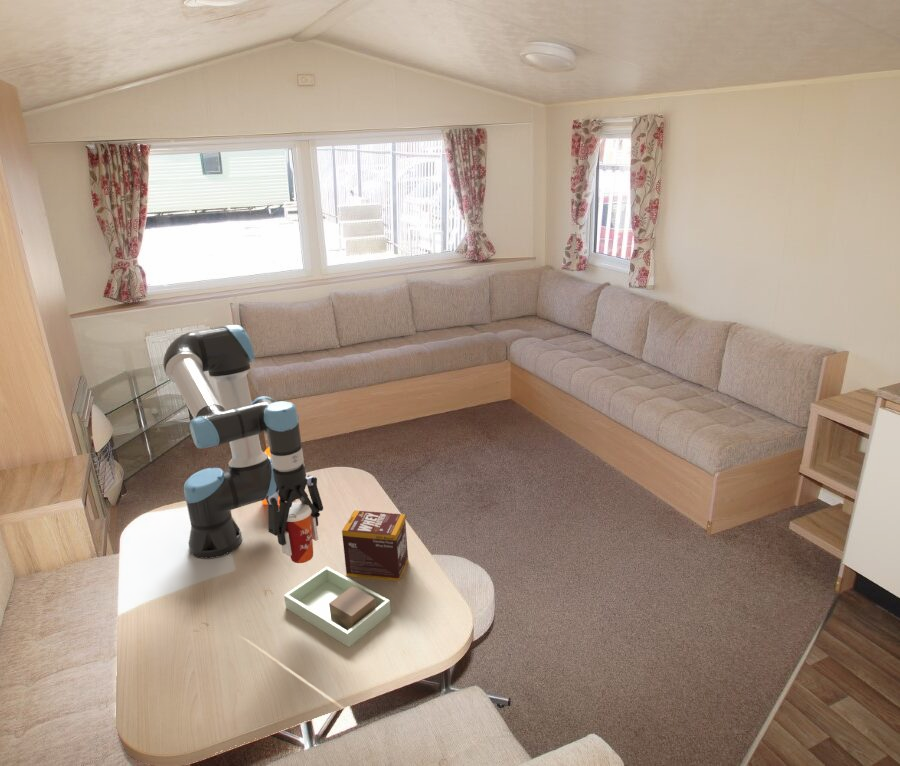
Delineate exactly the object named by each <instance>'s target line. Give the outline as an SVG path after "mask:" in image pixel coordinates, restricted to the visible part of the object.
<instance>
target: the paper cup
mask: <svg viewBox="0 0 900 766" xmlns="http://www.w3.org/2000/svg"><path fill="white" fill-rule="evenodd" d="M311 512H312V510H311V508H310V507H309V505H306V504H304V503H302V502H301V501H296V502H295V501H294V502H292V506H291V507H290V510H289V515H288V520H287V525H286V530H285V531H286V532H288V534H289V540H290V546H291V552H292V555H291V556H290V560H291V561H292V562H293V563H294V564H305V563H307V562H309V561H311V560H312V559H313V557H314V543H313V542H314V541H313V539H312V526H311Z"/></svg>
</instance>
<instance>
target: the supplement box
mask: <svg viewBox="0 0 900 766" xmlns="http://www.w3.org/2000/svg"><path fill="white" fill-rule="evenodd" d="M341 535H342V544H343V554H344V564H345V572H346V573H345V574H346V576H345V577H349V578H350V577H352V578H360V579H361V578H362V579H373V580H380V581H381V580H383V581H390V582H391V581H392V582H400V580H401V577H403V575H404V572H405V570H406V567H407V565H408V562H409V553H408V536H407V523H406V514H405V513H392V512H381V511H379V512H378V511H370V510H369V511H368V510H367V511H366V510H354V511H353V513H352V514H351V515H350V517H349V519H348V521H347V522H346V524H345V525H344V527H343V528H342V530H341Z"/></svg>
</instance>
